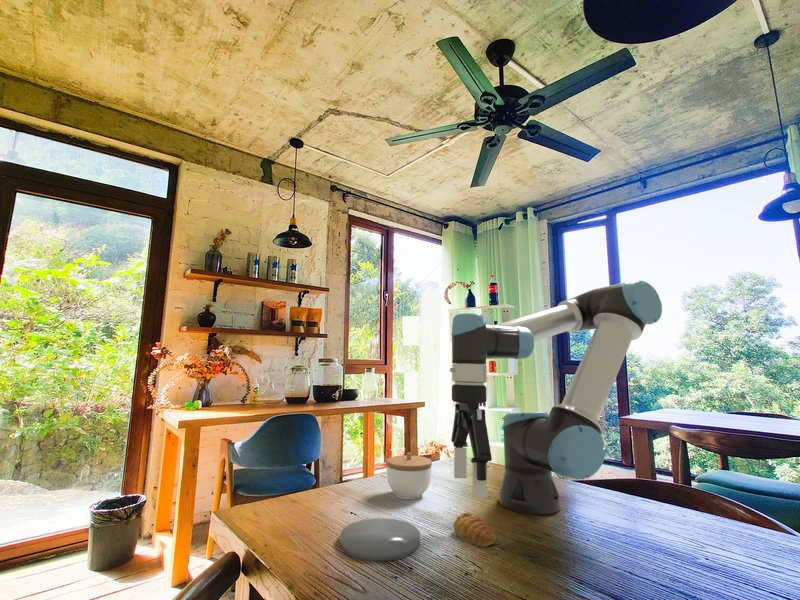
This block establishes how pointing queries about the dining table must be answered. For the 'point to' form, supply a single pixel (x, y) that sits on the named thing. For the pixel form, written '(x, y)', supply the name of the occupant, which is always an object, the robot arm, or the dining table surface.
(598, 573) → the dining table surface
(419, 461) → the lidded bowl
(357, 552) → the grey rounded puck
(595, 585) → the dining table surface
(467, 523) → the pastry
